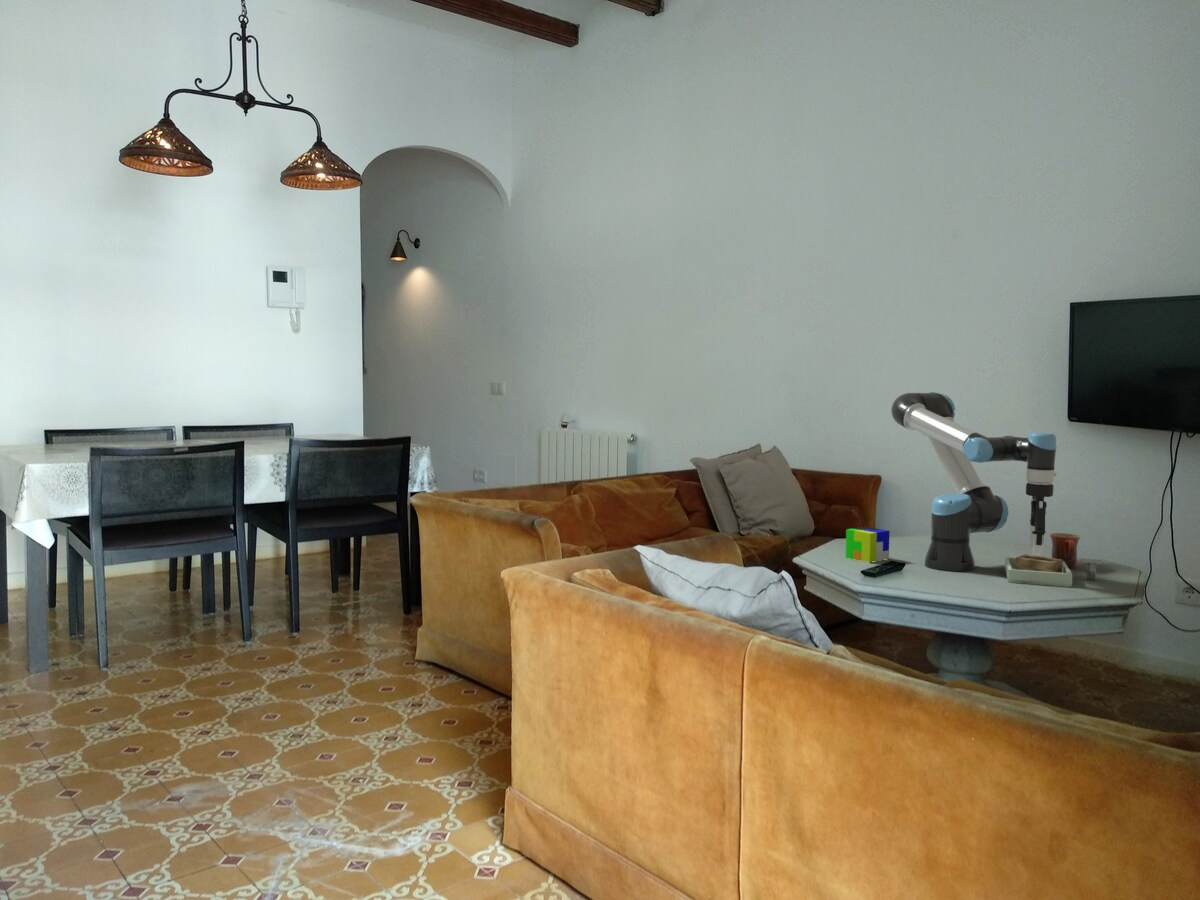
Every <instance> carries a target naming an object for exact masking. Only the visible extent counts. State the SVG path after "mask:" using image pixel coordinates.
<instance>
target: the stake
mask: <svg viewBox="0 0 1200 900" xmlns="http://www.w3.org/2000/svg"><path fill="white" fill-rule="evenodd" d="M1080 563H1083V564H1084V563H1085V564H1086V581H1089V582H1096V581H1097V579H1096V577H1097V576H1096V575H1097V564H1099V565H1100V564H1101V565H1103V559H1102V558H1090V557H1087V558H1086V557H1081V562H1080Z"/></svg>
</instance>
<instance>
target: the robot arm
mask: <svg viewBox="0 0 1200 900" xmlns="http://www.w3.org/2000/svg"><path fill="white" fill-rule="evenodd" d="M955 411H956V407H955V403H954V402H953V400H952V398H950V397H949V396H948V395H946V394H944V393H942V392H937V391H933V392H931V391H930V392H906V393H903V394H900V395H899V396H898V397H896V398H895V400H894V401H893V403H892V406H891V412H890V413H891V415H892V418H893V420H894V421H895V422H896V424H898V425H899V426H901V427H903V428H905V429H907V430H910V431H915V430H916V431H918V432H920V433H921V434H922V436H924V437H928V438H929V440H930V443H931V444H932V447H933V448H934V451H935V453H936V455H937V457H938V458H939V461H940V462H941V465H942V467H943V469H944V470H945V473H946V474H947V476H948V479H949V480H950V482H951V484H952V486H953V489H954V491H955V493H944V494H941V495H937V496H935V497H934V499H933V500H932V506H931V510H930V511H931V529H930V530H931V536H930V543H929V547H928V550H927V551H926V554H925V557H924V566H926V567H927V568H931V569H935V570H940V571H941V570H942V571H951V572H967V571H972V570H974V569H975V563H976V562H975V558H974V556H973V555H974V554H973V552H972V549H971V546H970V545H971V544H970V542H971V541H970V539H971V538H970V537H971V536H970V535H971V534H975V533H990V532H994V531H997V530H998V531H999V530H1000V529H1002V528H1003V527H1004V525H1005V524H1006V523H1007V521H1008V517H1009V506H1008V504H1007V502H1006V500H1005V499H1004V498H1003V497H1001V496H999V495H994V493H993V491H992V488H991V487H990V486H989V485H985V484H983V482H982V481H981V478H980V477H979V475H978V473H977V471H976V469H975V467H974V465H973V464H972V463H980V464H981V463H988V462H989V463H991V462H1007V461H1008V462H1009V461H1010V462H1011V461H1014V462H1025V463H1026V464H1027V465H1026V467H1027V468H1026V475H1025V477H1026V478H1025V480H1026V482H1027V483H1026V484H1025V494H1026V495H1027V496H1031V497H1032V498H1031V499H1032V500H1031V501H1030V520H1029V523H1030V526H1029V544H1028V545H1029V547H1030V548H1031V547H1033V548H1032V555H1033V556H1041V557H1044V548H1045V547H1044V546H1045V534H1046V532H1047V531H1046V513H1047V512H1046V511H1047V509H1046V508H1047V502H1046V501H1045V498H1050V497H1053V495H1054V487H1055V486H1054V484H1053V483H1054V481H1055V477H1056V476H1057V472H1055V463H1056V462H1055V461H1056V454H1057V452H1056V451H1057V436H1056V434H1055V433H1051V432H1042V431H1041V432H1040V431H1039V432H1036V431H1035V432H1034V431H1032V432H1030V433H1029V435H1028V437H1020V436H1014V435H1001V436H996V437H995V436H993V437H987V436H985V435H983V434H980V433H979V432H976V431H974V430H972V429H970V428H968V427H966V426H963V425H961V424H959V423H957V422H955V419H954V418H955V416H956V413H955Z"/></svg>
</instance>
